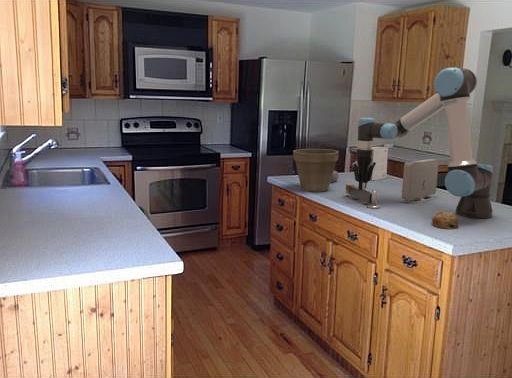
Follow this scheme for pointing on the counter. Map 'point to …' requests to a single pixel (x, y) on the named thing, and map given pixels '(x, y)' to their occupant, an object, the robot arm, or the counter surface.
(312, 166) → the plant pot
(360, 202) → the power supply label
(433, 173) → the network device
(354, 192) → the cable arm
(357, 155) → the robot arm
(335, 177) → the small grey backpack
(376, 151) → the hard drive box
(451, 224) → the bread roll
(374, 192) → the pivot post
